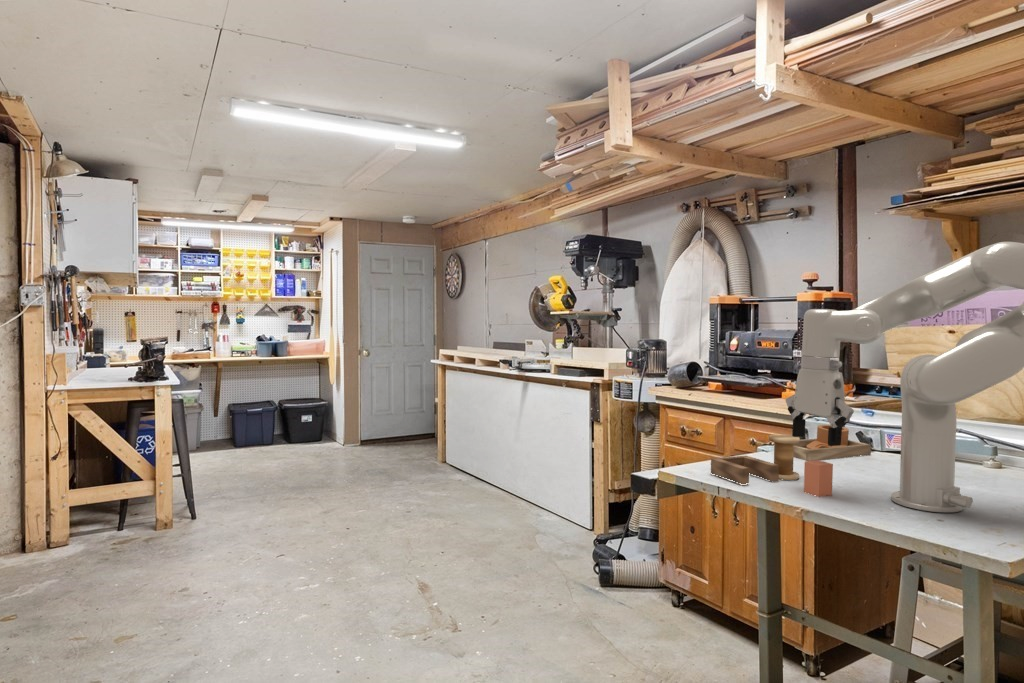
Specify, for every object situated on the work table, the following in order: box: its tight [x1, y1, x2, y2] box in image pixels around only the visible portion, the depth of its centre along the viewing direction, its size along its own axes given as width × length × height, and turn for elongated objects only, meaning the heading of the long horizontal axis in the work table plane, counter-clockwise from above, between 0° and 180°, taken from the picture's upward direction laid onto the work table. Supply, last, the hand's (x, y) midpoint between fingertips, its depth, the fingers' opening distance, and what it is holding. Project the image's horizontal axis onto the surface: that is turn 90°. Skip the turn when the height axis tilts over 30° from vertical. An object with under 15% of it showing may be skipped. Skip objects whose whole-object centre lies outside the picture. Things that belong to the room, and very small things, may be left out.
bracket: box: [806, 424, 850, 449], centre depth 180 cm, size 18×8×7 cm, turn 138°
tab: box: [803, 460, 834, 498], centre depth 137 cm, size 4×4×7 cm
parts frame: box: [793, 438, 872, 461], centre depth 179 cm, size 12×23×3 cm, turn 111°
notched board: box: [710, 455, 780, 484], centre depth 150 cm, size 11×11×4 cm
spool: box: [768, 433, 801, 481], centre depth 151 cm, size 7×7×10 cm
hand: (815, 440), depth 137 cm, fingers open, 9 cm apart
